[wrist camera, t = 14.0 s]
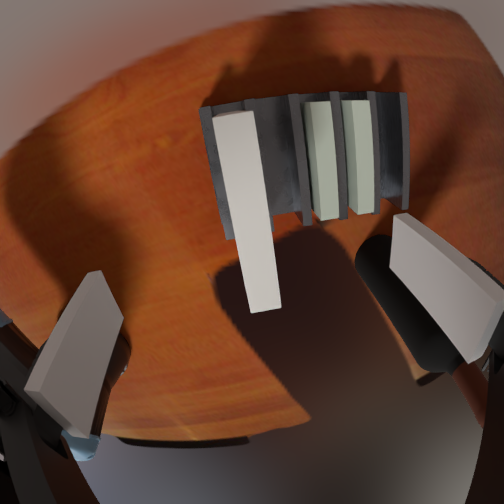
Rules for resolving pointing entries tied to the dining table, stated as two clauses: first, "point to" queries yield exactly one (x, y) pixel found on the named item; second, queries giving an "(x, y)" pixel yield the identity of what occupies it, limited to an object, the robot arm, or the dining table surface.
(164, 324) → the dining table surface
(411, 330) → the wine bottle
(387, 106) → the rack
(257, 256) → the tall sheet
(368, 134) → the offcut
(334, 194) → the offcut
